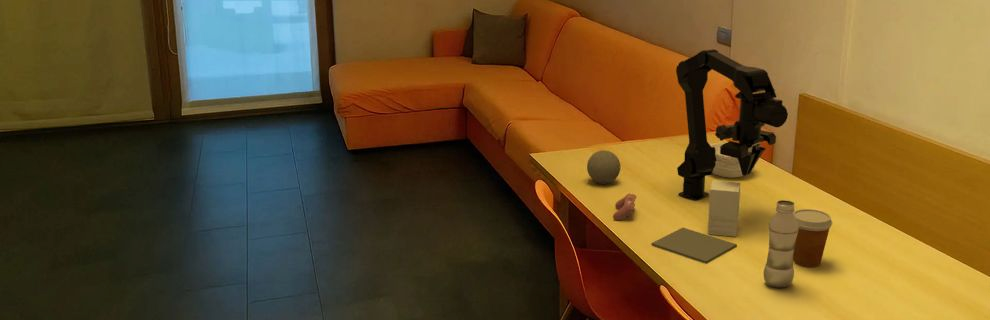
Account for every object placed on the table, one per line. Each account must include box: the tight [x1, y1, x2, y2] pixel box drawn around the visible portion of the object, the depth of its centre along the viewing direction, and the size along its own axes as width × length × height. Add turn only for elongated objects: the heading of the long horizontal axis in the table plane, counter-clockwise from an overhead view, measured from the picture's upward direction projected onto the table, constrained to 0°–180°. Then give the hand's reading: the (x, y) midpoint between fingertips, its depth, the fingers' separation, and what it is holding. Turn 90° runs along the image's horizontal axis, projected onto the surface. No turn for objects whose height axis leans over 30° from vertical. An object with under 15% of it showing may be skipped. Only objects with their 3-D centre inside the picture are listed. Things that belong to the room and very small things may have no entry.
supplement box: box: [707, 179, 741, 238], centre depth 234 cm, size 7×7×13 cm
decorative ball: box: [586, 149, 621, 185], centre depth 271 cm, size 10×10×10 cm
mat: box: [650, 227, 738, 264], centre depth 227 cm, size 14×16×1 cm
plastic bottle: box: [763, 199, 799, 288], centre depth 203 cm, size 6×7×20 cm
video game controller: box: [612, 192, 638, 221], centre depth 247 cm, size 10×5×7 cm, turn 169°
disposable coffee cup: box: [793, 208, 833, 268], centre depth 216 cm, size 10×10×12 cm
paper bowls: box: [709, 142, 745, 179], centre depth 278 cm, size 15×15×8 cm
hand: (746, 174), depth 239 cm, fingers closed
